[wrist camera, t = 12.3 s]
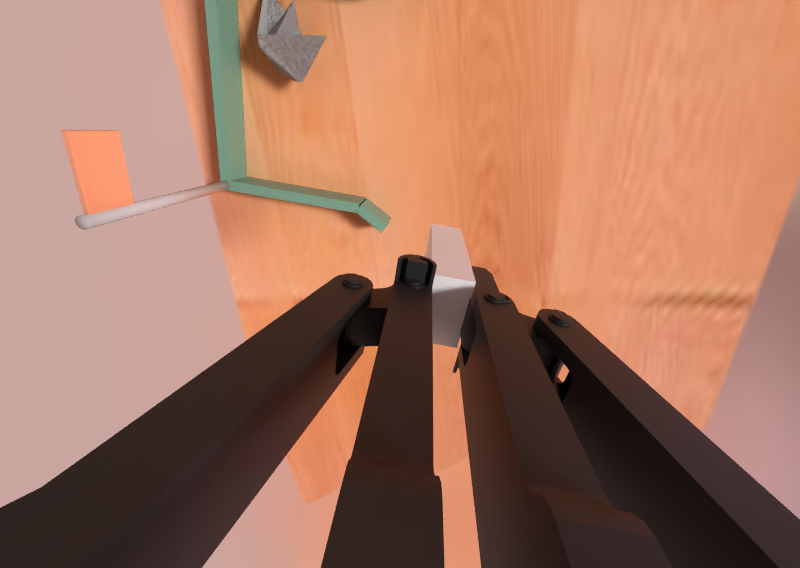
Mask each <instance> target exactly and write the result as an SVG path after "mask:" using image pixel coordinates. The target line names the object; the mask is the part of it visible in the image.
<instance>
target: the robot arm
mask: <svg viewBox="0 0 800 568" xmlns="http://www.w3.org/2000/svg"><path fill="white" fill-rule="evenodd" d="M372 288H373V284H372V282H371V281H370V280H369V279H368V278H366V277H363V276H360V275H357V274H351V273H350V274H343V275H339V276H337V277H334V278H333V279H332V280H330V281H329V282H328V283H326V284H325V285H323V286H322V287H321V288H319V289H318V290H316V291H315V292H314V293H312V294H311V295H309V296H308V297H307V298H305V299H304V300H302V301H301V302H300V303H298V304H297V305H295V306H294V307H293V308H291V309H290V310H288V311H287V312H286V313H284V314H283V315H281V316H280V317H279V318H277V319H276V320H274V321H273V322H272V323H270V324H269V325H267V326H266V327H265V328H263V329H262V330H260V331H259V332H258V333H256V334H255V335H253V336H252V337H251V338H249V339H248V340H246V341H245V342H244V343H243V344H241V345H240V346H238V347H237V348H235V349H234V350H233V351H231V352H230V353H228V354H227V355H226V356H224V357H223V358H221V359H220V360H219V361H217V362H216V363H214V364H213V365H212V366H210V367H209V368H207V369H206V370H205V371H203V372H202V373H200V374H199V375H198V376H196V377H195V378H193V379H192V380H191V381H189V382H188V383H186V384H185V385H184V386H182V387H181V388H180V389H178V390H177V391H175V392H174V393H172V394H171V395H170V396H168V397H167V398H165V399H164V400H163V401H161V402H160V403H158V404H157V405H156V406H154V407H153V408H151V409H150V410H149V411H147V412H146V413H145V414H143V415H142V416H140V417H139V418H138V419H136V420H135V421H133V422H132V423H131V424H129V425H128V426H127V427H125V428H124V429H122V430H121V431H119V432H118V433H117V434H115V435H114V436H113V437H111V438H110V439H108V440H107V441H106V442H104V443H103V444H101V445H100V446H98V447H97V448H96V449H94V450H93V451H91V452H90V453H89V454H87V455H86V456H85V457H83V458H82V459H80V460H79V461H77V462H76V463H75V464H74V465H72V466H70V467H69V468H68V469H66V470H65V471H63V472H62V473H61V474H59V475H58V476H56V477H55V478H54V479H52V480H51V481H50V482H48V483H47V484H45V485H44V486H43V487H41V488H39V489H37V490H35V491H33V492H31V493H29V494H27V495H25V496H23V497H21V498H19V499H17V500H15V501H13V502H11V503H9V504H7V505H5V506H3V507H1V508H0V568H202V567H203V565H204V564H205V563H206V561H207V560H208V559H209V557H210V556H211V555H212V553H213V552H214V551H215V549H216V548H217V547H218V545H219V544H220V543H221V541H222V540H223V539H224V537H225V536H226V535H227V533H228V532H229V531H230V529H231V528H232V527H233V525H234V524H235V523H236V521H237V520H238V519H239V517H240V516H241V515H242V513H243V512H244V511H245V509H246V508H247V506H248V505H249V504H250V502H251V501H252V500H253V499H254V497H255V496H256V495H257V493H258V492H259V491H260V489H261V488H262V487H263V485H264V484H265V483H266V481H267V480H268V479H269V477H270V476H271V475H272V473H273V472H274V471H275V469H276V468H277V466H278V465H279V464H280V463H281V461H282V460H283V459H284V457H285V456H286V455H287V453H288V452H289V451H290V449H291V448H292V447H293V445H294V444H295V443H296V441H297V440H298V439H299V437H300V436H301V435H302V433H303V432H304V431H305V429H306V428H307V427H308V425H309V424H310V423H311V421H312V420H313V419H314V417H315V416H316V415H317V413H318V412H319V411H320V409H321V408H322V407H323V405H324V404H325V403H326V401H327V400H328V399H329V397H330V396H331V395H332V393H333V392H334V391H335V389H336V388H337V387H338V385H339V384H340V383H341V381H342V380H343V379H344V377H345V376H346V375H347V373H348V372H349V371H350V369H351V368H352V367H353V365H354V364H355V363H356V361H357V360H358V359H359V357H360V356H361V355H362V353H363V351H364V346H378V350H377V354H376V358H375V363H374V367H373V371H372V375H371V379H370V383H369V387H368V391H367V395H366V399H365V403H364V408H363V412H362V416H361V420H360V424H359V428H358V432H357V436H356V440H355V444H354V448H353V452H352V456H351V459H349V461H348V464H347V467H346V471H345V474H344V478H343V482H342V486H341V490H340V494H339V498H338V502H337V506H336V510H335V514H334V518H333V522H332V525H331V530H330V533H329V537H328V541H327V545H326V550H325V553H324V557H323V561H322V565H321V568H444V540H443V539H444V538H443V507H442V506H443V505H442V488H441V481H440V478H439V476H435V475H434V468H433V343H434V344H440V345H445V346H450V347H456V348H457V345H458V342H459V338H460V336H461V346H460V349H459V353H458V356H457V359H456V363H455V366H454V370H453V372H454V373H456V371H457V369H458V368H459V370H460V379H461V388H462V397H463V406H464V415H465V424H466V433H467V442H468V451H469V459H470V469H471V477H472V487H473V496H474V505H475V513H476V523H477V531H478V541H479V550H480V559H481V568H800V519H798V518H797V517H796V516H795V515H794V514H793V513H792V512H791V511H790V510H788V509H787V508H786V507H785V506H784V505H783V504H782V503H781V502H779V501H778V500H777V499H776V498H775V497H774V496H773V495H772V494H770V493H769V492H768V491H767V490H766V489H765V488H764V487H763V486H761V485H760V484H759V483H758V482H757V481H756V480H755V479H754V478H752V477H751V476H750V475H749V474H748V473H747V472H746V471H745V470H743V469H742V468H741V467H740V466H739V465H738V464H737V463H736V462H735V461H733V460H732V459H731V458H730V457H729V456H728V455H727V454H726V453H724V452H723V451H722V450H721V449H720V448H719V447H718V446H717V445H715V444H714V443H713V442H712V441H711V440H710V439H709V438H708V437H707V436H705V435H704V434H703V433H702V432H701V431H700V430H699V429H698V428H696V427H695V426H694V425H693V424H692V423H691V422H690V421H689V420H687V419H686V418H685V417H684V416H683V415H682V414H681V413H680V412H678V411H677V410H676V409H675V408H674V407H673V406H672V405H671V404H670V403H668V402H667V401H666V400H665V399H664V398H663V397H662V396H661V395H659V394H658V393H657V392H656V391H655V390H654V389H653V388H652V387H650V386H649V385H648V384H647V383H646V382H645V381H644V380H643V379H641V378H640V377H639V376H638V375H637V374H636V373H635V372H634V371H633V370H631V369H630V368H629V367H628V366H627V365H626V364H625V363H624V362H622V361H621V360H620V359H619V358H618V357H617V356H616V355H615V354H613V353H612V352H611V351H610V350H609V349H608V348H607V347H606V346H604V345H603V344H602V343H601V342H600V341H599V340H598V339H597V338H596V337H594V336H593V335H592V334H591V333H590V332H589V331H588V330H587V329H585V328H584V327H583V326H582V325H581V324H580V323H579V322H578V321H576V320H575V319H574V318H572V317H571V316H569V315H567V314H566V313H564V312H562V311H560V312H559V310H551V309H542V310H540V311H539V312H538V314H537V317H536V319H535V318H532V317H529V316H526V315H523V314H521V313H519V312H518V310H517V308H516V306H515V303H514V302H513V301H512V299H511V298H510V297H508V296H506V295H504V294H502V293H500V292H499V290H498V287H497V285H496V283H495V280H494V278H493V276H492V274H491V273H490V272H489V271H488V270H486V269H485V268H480V267H474V266H471V263H470V260H469V257H468V253H467V250H466V246H465V243H464V239H463V236H462V232H461V229H459V228H454V227H448V226H443V225H437V224H432V225H431V230H430V235H429V240H428V245H427V249H426V254H425V257H423V256H419V255H412V254H410V255H403V256H400V257H399V258H398V263H397V269H396V275H395V281H394V285H392V286H390V287H388V288H381V289H372ZM563 364H565V365H566V367H567V368H568V369H569V373H568V375H567V377H566V379H565V381H564V382H562V381H560V379H559V378H558V377H557V376H558V374H559V372H560V370H561V368H562V366H563Z"/></svg>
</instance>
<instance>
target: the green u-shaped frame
mask: <svg viewBox="0 0 800 568" xmlns="http://www.w3.org/2000/svg"><path fill="white" fill-rule="evenodd" d="M204 2H205V13H206V25H207V36H208V47H209V58H210V70H211V81H212V92H213V103H214V115H215V126H216V137H217V148H218V159H219V171H220V182H217V183H213V184H209V185H205V186H201V187H197V188H193V189H188V190H184V191H180V192H176V193H172V194H168V195H164V196H159V197H155V198H151V199H147V200H143V201H139V202H134V200H133V196H132V191H131V186H130V182H129V177H128V172H127V167H126V162H125V157H124V153H123V148H122V143H121V139H120V134H119V131H116V130H61V131H62V135H63V138H64V142H65V146H66V149H67V153H68V156H69V160H70V164H71V167H72V170H73V174H74V178H75V181H76V185H77V189H78V192H79V196H80V199H81V203H82V206H83V210H84V213H85V214H84V215H81V216H77V217H76V218H75V222H76V224H77V226H78V227H79V228H81V229H84V230H86V229H89V228H93V227H96V226H100V225H104V224H107V223H111V222H114V221H117V220H121V219H124V218H128V217H132V216H135V215H139V214H142V213H145V212H149V211H153V210H156V209H159V208H163V207H167V206H170V205H174V204H177V203H181V202H184V201H188V200H191V199H195V198H198V197H202V196H205V195H209V194H212V193H216V192H219V191H223V190H228V191H234V192H240V193H245V194H251V195H257V196H262V197H268V198H274V199H279V200H285V201H291V202H297V203H302V204H308V205H314V206H319V207H325V208H331V209H336V210H342V211H348V212H353V213H357V214H358V215H360V216H361V217H362V218H363V219H365V220H366V221H367V222H368V223H370V224H371V225H372V226H373V227H375V228H376V229H377V230H378V231H380V232H381V233H382V231H383V230H384V229H385V228H386V226H387V225H388V223H389V221H390V219H391V217H389V216H388V215H387V214H386V213H384V212H383V211H382V210H381V209H380V208H378V207H377V206H376V205H375V204H373V203H372V202H371V201H370V200H369V199H366V200H365V197H360V196H354V195H348V194H343V193H337V192H331V191H326V190H320V189H314V188H309V187H303V186H297V185H291V184H286V183H280V182H274V181H269V180H263V179H257V178H252V177H247V170H246V151H245V132H244V114H243V95H242V77H241V58H240V39H239V21H238V2H237V0H204Z"/></svg>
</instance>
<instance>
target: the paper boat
mask: <svg viewBox="0 0 800 568" xmlns="http://www.w3.org/2000/svg"><path fill="white" fill-rule="evenodd" d="M257 36H258V42H259V47H260V48H261V49H262V51H263V52H264V53H265V54H266V56H267V57H268V58H269V59H270V61H271V62H272V63H273V64H274V66H275V67H276V68H277V69H278V71H279V72H280V73H281V74H282V75H284V76H286V77H288V78H290V79H292V80H294V81H297V82H303V80H304V78H305V76H306V74H307V72H308V70H309V68H310V67H311V65H312V63H313V61H314V59H315V57H316V55H317V53H318V51H319V50H320V48H321V46H322V44H323V42H324V40H325V38H326V36H309V35H302V33H301V32H300V30H299V29H298V24H297V18H296V11H295V5H294V0H293V2H292V3H291V4H290V6H289V7H288V8H287V10H286V11H285V10H284V9H283V7H282V6H281V5H280V3H279V2H278V1H277V0H262V7H261V13H260V20H259V26H258V32H257Z"/></svg>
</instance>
